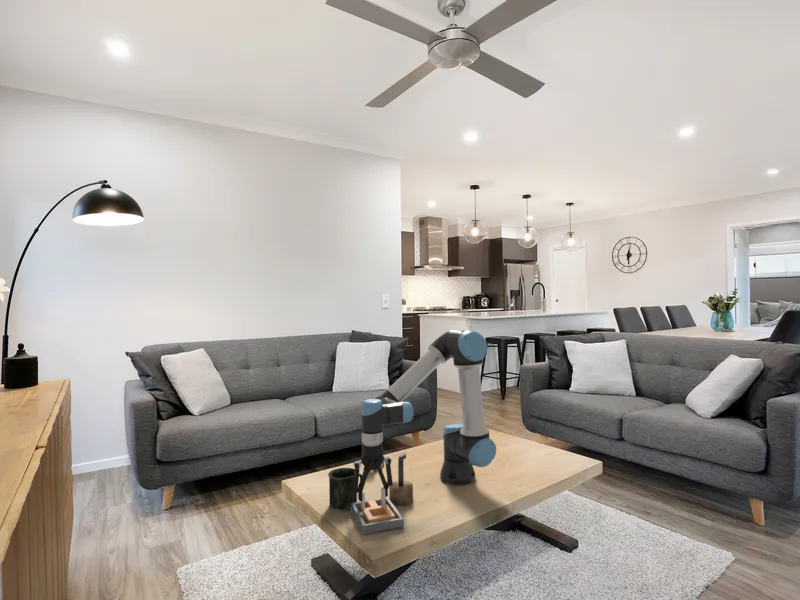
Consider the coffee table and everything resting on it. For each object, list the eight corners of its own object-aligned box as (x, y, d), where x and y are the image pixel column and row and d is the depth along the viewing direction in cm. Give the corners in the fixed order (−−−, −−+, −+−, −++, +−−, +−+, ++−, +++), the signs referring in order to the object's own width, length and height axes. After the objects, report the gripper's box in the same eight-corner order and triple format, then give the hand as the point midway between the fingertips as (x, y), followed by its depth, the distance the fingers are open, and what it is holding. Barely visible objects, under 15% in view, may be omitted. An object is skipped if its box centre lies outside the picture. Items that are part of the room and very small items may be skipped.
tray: (387, 505, 164) (387, 497, 164) (403, 527, 147) (403, 518, 147) (351, 511, 160) (351, 503, 160) (363, 535, 143) (363, 525, 143)
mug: (322, 504, 166) (322, 472, 166) (354, 493, 175) (354, 463, 175) (338, 514, 157) (338, 480, 158) (371, 502, 167) (370, 470, 167)
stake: (395, 494, 174) (395, 449, 174) (416, 498, 170) (416, 452, 171) (385, 503, 166) (384, 456, 166) (406, 507, 162) (406, 460, 162)
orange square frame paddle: (359, 510, 159) (359, 502, 159) (382, 507, 162) (382, 498, 162) (369, 529, 145) (369, 519, 145) (394, 524, 148) (394, 515, 148)
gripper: (347, 449, 151) (348, 516, 151) (401, 443, 158) (402, 507, 157) (343, 443, 159) (343, 507, 158) (395, 437, 165) (396, 499, 165)
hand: (373, 507), depth 158 cm, fingers open, 7 cm apart
